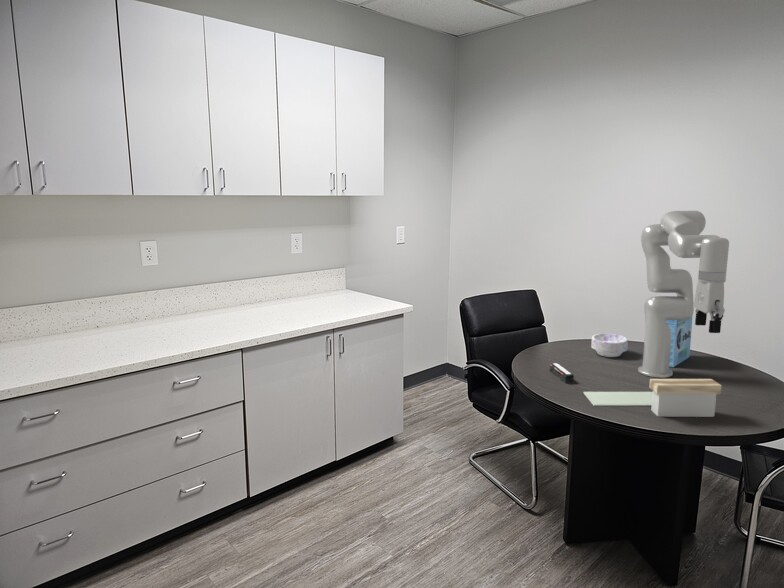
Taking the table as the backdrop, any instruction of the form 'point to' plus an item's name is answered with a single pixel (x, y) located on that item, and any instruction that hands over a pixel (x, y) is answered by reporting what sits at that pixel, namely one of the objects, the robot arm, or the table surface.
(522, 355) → the table surface
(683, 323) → the gum box
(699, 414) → the box
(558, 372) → the bus
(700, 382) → the beige wooden block
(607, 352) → the paper bowls
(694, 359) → the table surface
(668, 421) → the table surface
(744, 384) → the table surface
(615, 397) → the mat
